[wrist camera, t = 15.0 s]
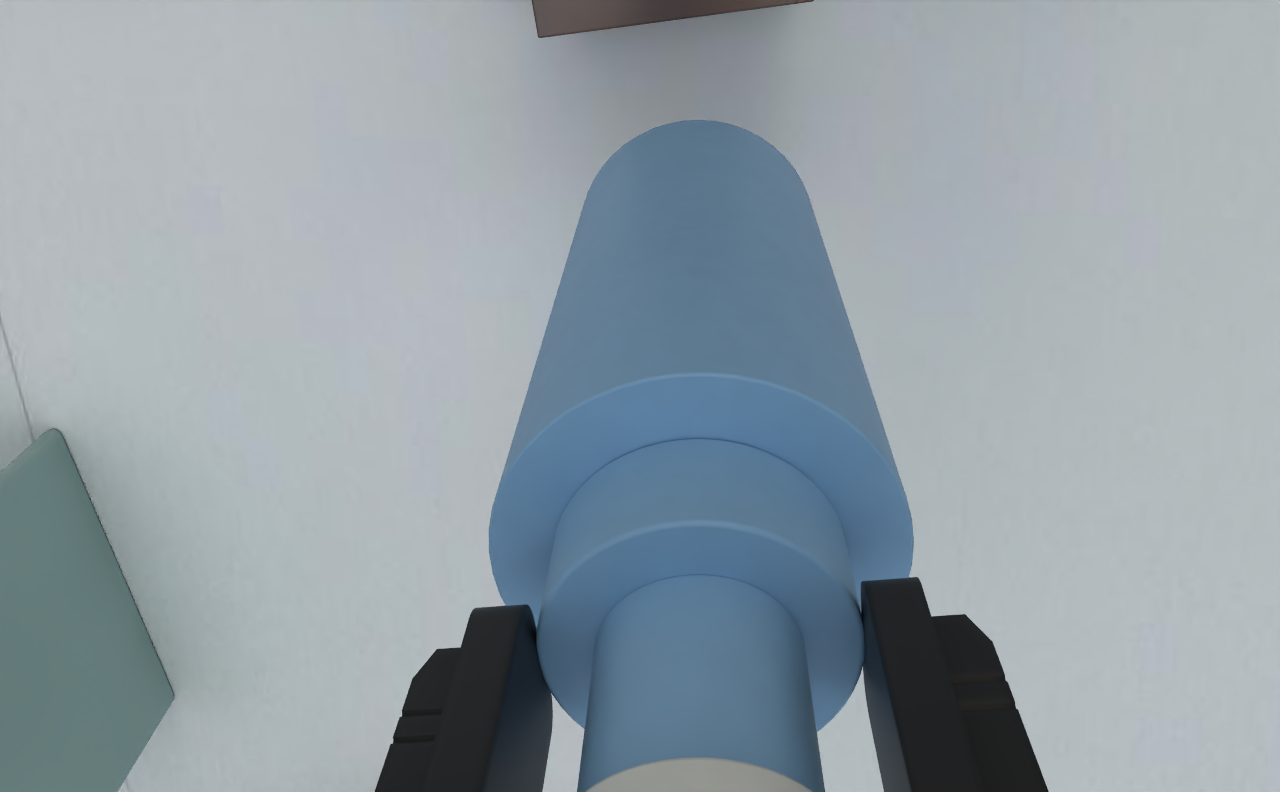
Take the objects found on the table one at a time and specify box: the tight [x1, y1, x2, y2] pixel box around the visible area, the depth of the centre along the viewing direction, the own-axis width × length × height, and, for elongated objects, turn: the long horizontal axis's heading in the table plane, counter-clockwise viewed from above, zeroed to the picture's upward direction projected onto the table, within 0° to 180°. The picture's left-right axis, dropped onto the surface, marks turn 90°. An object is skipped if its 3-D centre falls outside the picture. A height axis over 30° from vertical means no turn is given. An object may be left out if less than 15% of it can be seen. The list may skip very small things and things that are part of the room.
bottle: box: [489, 120, 914, 792], centre depth 19 cm, size 18×6×18 cm
